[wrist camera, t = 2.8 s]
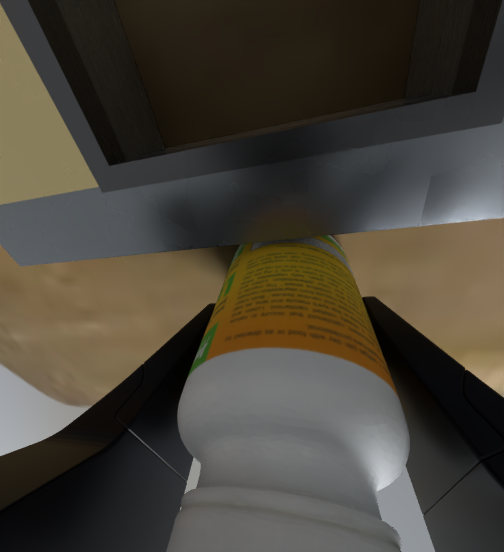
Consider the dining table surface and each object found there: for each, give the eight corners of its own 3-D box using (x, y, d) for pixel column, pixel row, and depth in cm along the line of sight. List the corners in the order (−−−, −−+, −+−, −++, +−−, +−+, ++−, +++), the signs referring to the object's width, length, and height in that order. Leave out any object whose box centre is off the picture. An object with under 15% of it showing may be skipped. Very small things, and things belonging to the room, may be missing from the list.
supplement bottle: (227, 217, 10) (-13, 626, 2) (359, 219, 9) (756, 859, 1) (237, 308, 13) (157, 606, 5) (336, 315, 12) (415, 673, 4)
